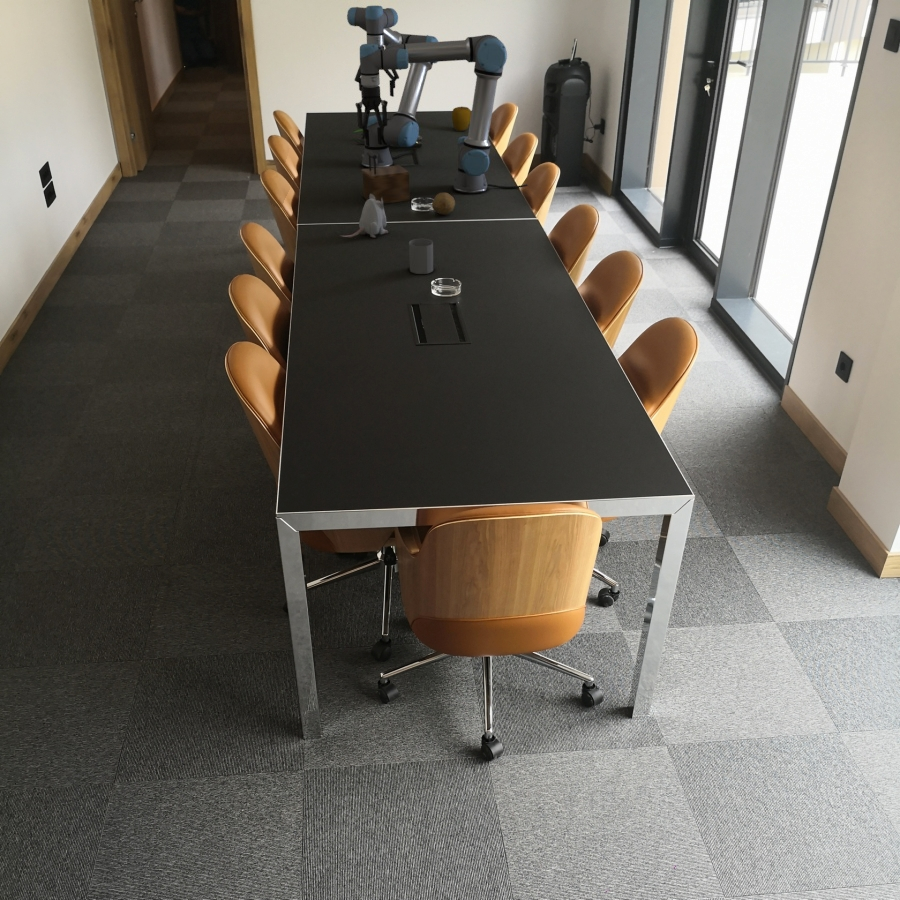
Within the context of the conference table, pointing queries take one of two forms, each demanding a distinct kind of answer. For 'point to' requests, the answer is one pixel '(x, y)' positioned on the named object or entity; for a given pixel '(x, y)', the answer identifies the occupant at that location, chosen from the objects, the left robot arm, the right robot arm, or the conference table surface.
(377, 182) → the chest
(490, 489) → the conference table surface
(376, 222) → the toy
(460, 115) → the yellow bell pepper
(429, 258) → the cup
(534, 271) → the conference table surface
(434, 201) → the potato
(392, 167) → the lid
